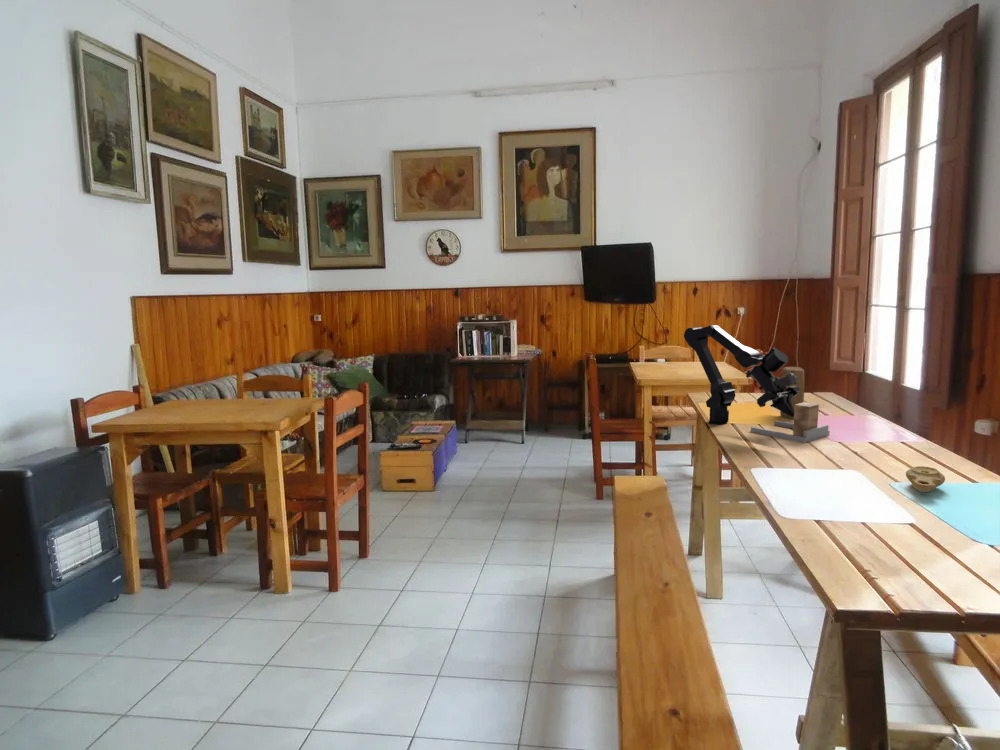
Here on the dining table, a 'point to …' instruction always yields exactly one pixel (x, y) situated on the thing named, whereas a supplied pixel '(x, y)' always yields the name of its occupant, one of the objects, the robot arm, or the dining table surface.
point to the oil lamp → (925, 478)
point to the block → (800, 384)
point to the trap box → (807, 435)
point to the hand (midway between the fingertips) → (793, 416)
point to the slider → (805, 417)
